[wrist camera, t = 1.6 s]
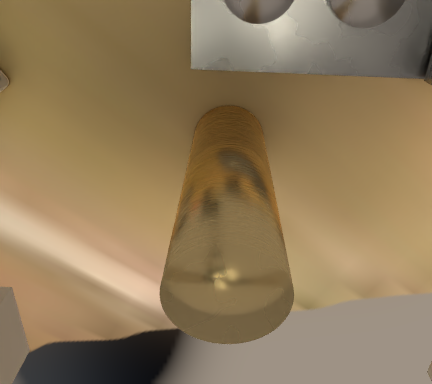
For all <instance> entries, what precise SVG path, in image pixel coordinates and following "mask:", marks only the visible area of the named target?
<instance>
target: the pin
mask: <svg viewBox="0 0 432 384" xmlns="http://www.w3.org/2000/svg"><path fill="white" fill-rule="evenodd" d="M293 300H294V290H293V284H292V279H291V274H290V269H289V264H288V259H287V253H286V248H285V243H284V238H283V233H282V228H281V223H280V218H279V213H278V207H277V202H276V197H275V192H274V187H273V182H272V177H271V172H270V166H269V161H268V156H267V151H266V146H265V141H264V136H263V131H262V128H261V125H260V123H259V122H258V120H257V119H256V117H255V116H254V115H253V114H251V113H250V112H249V111H247V110H245V109H243V108H240V107H237V106H221V107H217V108H215V109H212V110H211V111H209V112H208V113H206V114H205V115H204V116H203V117H202V118H201V119H200V121H199V122H198V124H197V126H196V129H195V133H194V138H193V142H192V147H191V151H190V156H189V160H188V165H187V169H186V174H185V178H184V183H183V187H182V192H181V196H180V201H179V205H178V210H177V214H176V219H175V223H174V228H173V232H172V237H171V241H170V246H169V250H168V255H167V259H166V264H165V268H164V273H163V277H162V282H161V286H160V301H161V304H162V307H163V310H164V312H165V314H166V315H167V316H168V318H169V319H170V320H171V321H172V323H173V324H174V325H176V326H177V327H178V328H179V329H180V330H182V331H183V332H185V333H187V334H189V335H191V336H193V337H195V338H197V339H200V340H204V341H207V342H212V343H220V344H237V343H244V342H249V341H252V340H256V339H258V338H261V337H263V336H265V335H267V334H269V333H271V332H272V331H274V330H275V329H276V328H277V327H279V326H280V325H281V324H282V322H283V321H284V320H285V319H286V317H287V316H288V314H289V313H290V310H291V308H292V305H293Z"/></svg>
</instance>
